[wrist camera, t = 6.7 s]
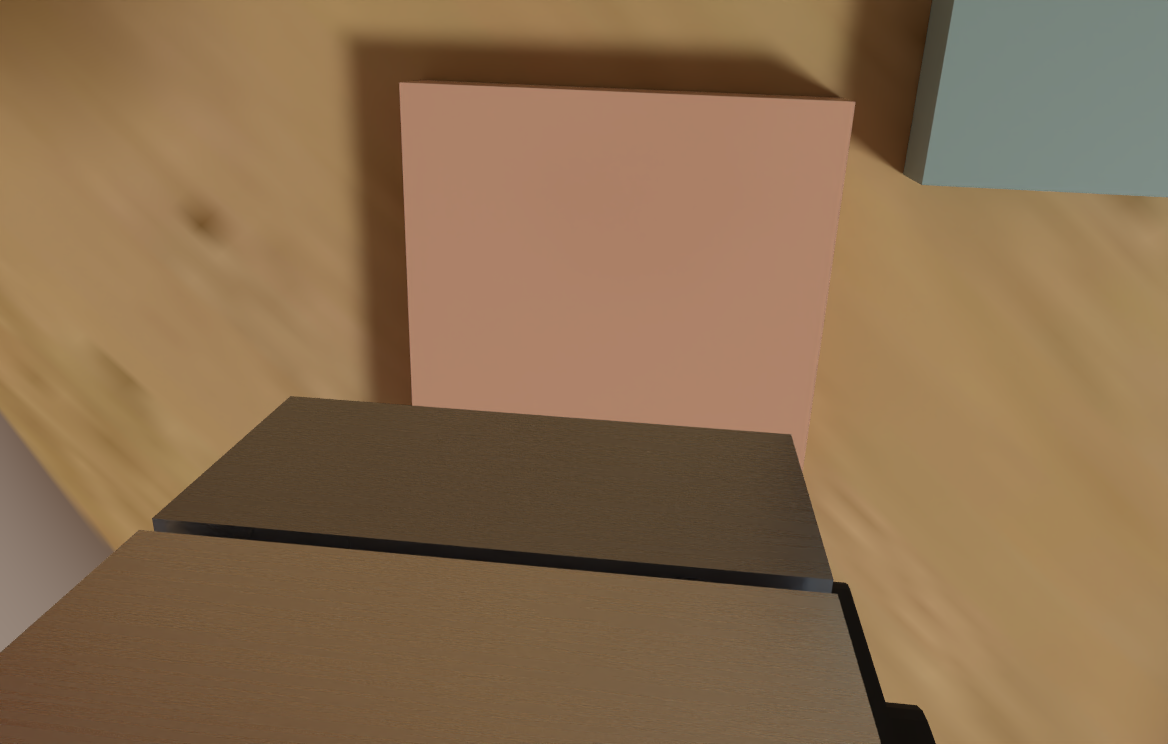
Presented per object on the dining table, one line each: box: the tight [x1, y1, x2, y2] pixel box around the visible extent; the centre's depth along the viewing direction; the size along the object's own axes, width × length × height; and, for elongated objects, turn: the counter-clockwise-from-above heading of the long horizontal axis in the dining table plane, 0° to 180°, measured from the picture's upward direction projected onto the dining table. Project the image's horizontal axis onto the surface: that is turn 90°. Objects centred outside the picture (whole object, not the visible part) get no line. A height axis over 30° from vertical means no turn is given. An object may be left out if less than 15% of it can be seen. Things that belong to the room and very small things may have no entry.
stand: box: [399, 80, 855, 472], centre depth 25 cm, size 12×12×2 cm
